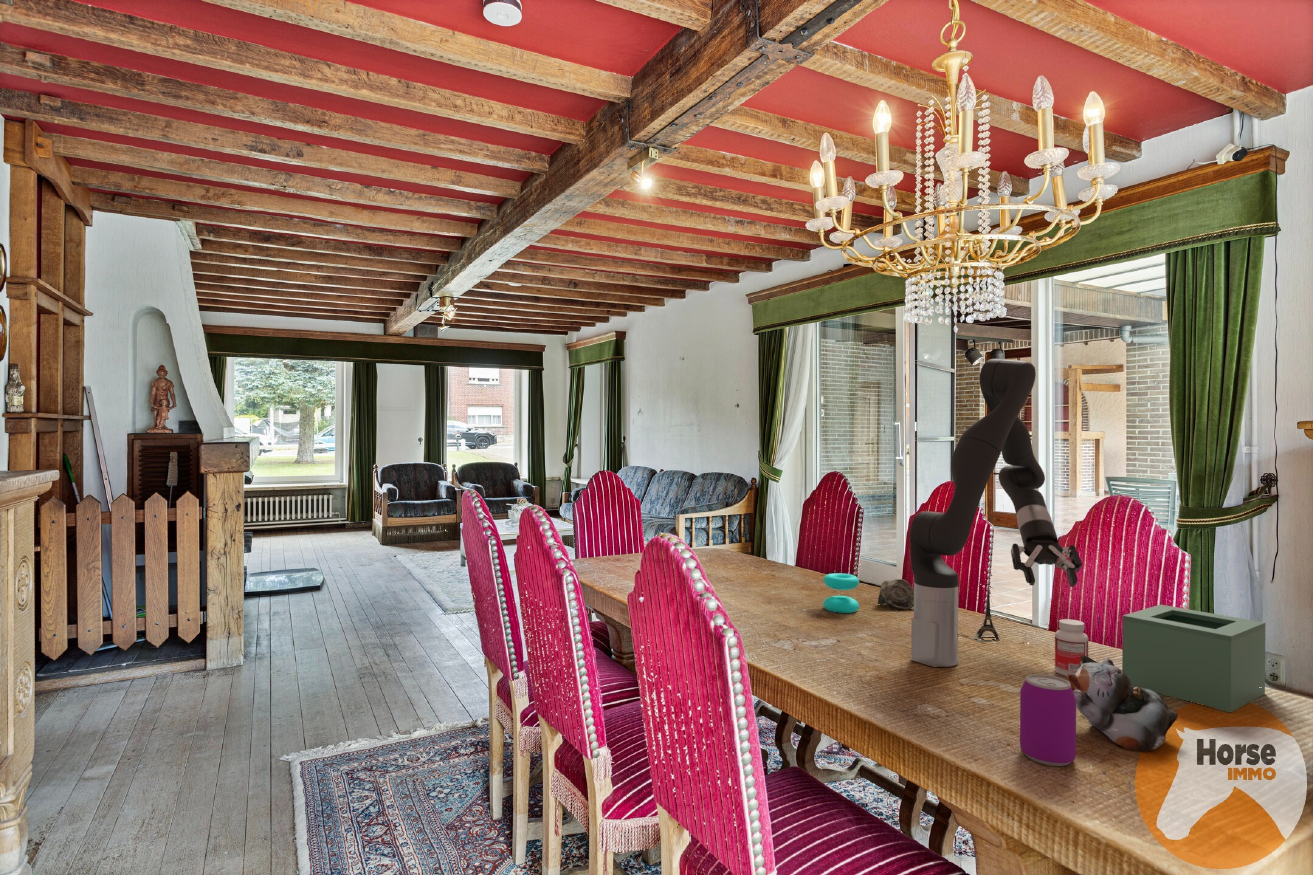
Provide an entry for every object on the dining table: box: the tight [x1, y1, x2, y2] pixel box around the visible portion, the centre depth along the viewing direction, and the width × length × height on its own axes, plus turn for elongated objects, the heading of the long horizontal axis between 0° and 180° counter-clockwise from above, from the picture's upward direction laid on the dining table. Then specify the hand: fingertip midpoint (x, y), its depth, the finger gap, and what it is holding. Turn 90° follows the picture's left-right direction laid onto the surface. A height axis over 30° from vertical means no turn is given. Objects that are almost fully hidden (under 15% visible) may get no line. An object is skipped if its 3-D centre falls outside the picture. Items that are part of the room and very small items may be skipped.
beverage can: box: [1019, 673, 1077, 767], centre depth 111 cm, size 8×8×12 cm
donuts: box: [822, 572, 860, 614], centre depth 206 cm, size 10×10×10 cm
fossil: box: [877, 578, 914, 611], centre depth 211 cm, size 11×9×10 cm
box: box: [1121, 604, 1266, 713], centre depth 143 cm, size 18×18×14 cm
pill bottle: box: [1054, 618, 1089, 677], centre depth 151 cm, size 6×6×11 cm
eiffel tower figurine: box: [958, 586, 1004, 645], centre depth 180 cm, size 15×10×13 cm
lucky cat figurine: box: [1066, 655, 1179, 753], centre depth 120 cm, size 15×12×14 cm
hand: (1053, 584), depth 163 cm, fingers open, 8 cm apart
